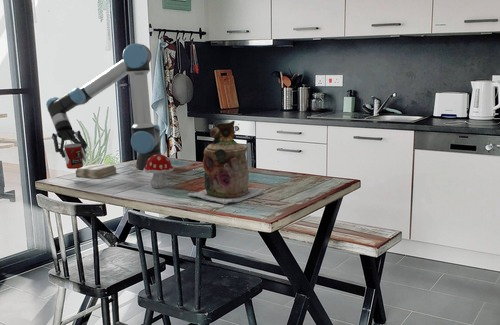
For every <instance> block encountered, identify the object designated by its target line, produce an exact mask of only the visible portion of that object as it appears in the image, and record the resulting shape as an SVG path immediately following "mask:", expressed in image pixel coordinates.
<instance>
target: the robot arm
mask: <svg viewBox="0 0 500 325" xmlns="http://www.w3.org/2000/svg"><path fill="white" fill-rule="evenodd" d="M152 57H153V56H152V52H151V50H150V48H149V47H148V46H147V45H144V44H142V43H131V44H128V45H127V46H126V47H125V48H124V49H123V52H122V59H121V60H120V61H118V62H116V64H114V65H112V66H111V67H110V68H107V69H106V70H105V71H103V72H102V73H101V74H99V75H98V76H96V77H95V78H93V79H91V81H89V82H87V83H86V84H84V85H83V86H81V87H80V88H79V87H75V88H73V89H71V90H70V91H69V92H67V93H66V94H63V96H61V97H60V98H59V97H56V96H54V97H51V98H49V99H48V100H47V101H46V104H45V105H46V108H47V112H48V113H49V116H50V119H51V121H52V124H53V126H54V129H55V132H56V133H52V134H51V138H52V140H53V144H54V145H53V146H54V150H55V153H59V154H60V156H61V157H62V158H64V161H65V164H66V163H67V164H68V163H69V158H68V156H67V153H66V151H65V149H64V148H65V141H71V142H73V144H81V148H82V159H83V162H86V160H87V156H86V154H87V152H86V150H87V147H88V143H87V142H86V140H85V139H84V137H83V136H82V133H81V131H80V130H77V131H75V130H74V129H73V127H72V124H71V122H70V119H69V117H68V115H67V113H68V112H70V111H71V110H72V109H74V108H76V107H77V106H82V105H85V104H87V103H89V101H90V100H92V99H93V98H95V97H96V96H98V95H99V94H100V93H102V92H104V91H105V90H106V89H108V88H110V87H111V86H112V85H113V84H116V83H117V82H119V81H120V80H122V79H123V78H125V77H126V76H127V75H129V84H130V95H131V104H132V105H131V106H132V116H133V124H132V126H131V128H130V129H131V138H130V145H131V148H132V149H133V150H134V151H135V152H136V153H138V155H137V160H136V162H135V167H136V168H135V169H137V170H141V171H142V170H143V171H144V168H145V166H146V163H147V160H148V159H149V158H150V157H151V156H154V155H156V154H161V155H162V153H161V152H162V151H161V150H162V148H161V129H160V128H161V127H160V125H159V124H154V123H152V117H151V115H152V114H151V107H150V106H151V104H150V92H149V82H148V73H149V72H150V71H151V69H150V68H151V67H150V63H151V61H152ZM58 138H59V139H61V140H60V145H59V142H58Z"/></svg>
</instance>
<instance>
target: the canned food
mask: <svg viewBox="0 0 500 325" xmlns="http://www.w3.org/2000/svg"><path fill="white" fill-rule="evenodd" d="M64 150H65V151H66V153H67V156H68V158H69V163H68V164H67V163H66V162H65V165H66V168H67V169H69V170H73V169H74V170H77V168H81V167H84V160H83V158H82V148H81V144H75V143H67V144H64Z"/></svg>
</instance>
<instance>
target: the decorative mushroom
mask: <svg viewBox="0 0 500 325" xmlns="http://www.w3.org/2000/svg"><path fill="white" fill-rule="evenodd" d="M174 170H175V167H174V166H173V165H172V162H171V160H170V159H169V158H168V157H167V156H166V155H164V154H162V153H161V154H156V155H154V156H151V157H150V158H149V159H148V160H147V163H146V166H145V168H144V170H143V171H144V173H147V174H152V177H151V179H150V186H151V187H152V188H153V189H164V188H167V187H168V185H169V180H168V178H167V176H166V173H172V172H173V171H174Z"/></svg>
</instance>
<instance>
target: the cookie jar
mask: <svg viewBox="0 0 500 325" xmlns="http://www.w3.org/2000/svg"><path fill="white" fill-rule="evenodd" d="M235 133H236V130H235V120H231V121H229V122H219V123H217V124H216V125H215V127H213V128H211V129H210V130H209V135H210V137H211V138H213V140H212V143H210V144H208V145H207V146H206V147H205V148H204V150H203V158H202V164H203V166H202V168H203V170H204V173H203V177H204V182H203V183H204V189H202V190H200V191H197V192H194V193H193V192H191V193H190V192H189V193H187V196H188V197H195V198H196V197H197V198H201V200H207V201H210V202H211V201H212V202H215V203H220V204H223V205H227V204H228V203H239V202H242V201H245V200H248V199H250V198H253V197H256V196H259V195H264V193H265V191H266V188H255V187H249V180H250V174H249V168H248V166H249V165H248V160H247V153H246V152H247V151H248V146H247V145H245V144H241V143H238V142H237V141H236V140H234V137H235V135H236V134H235Z"/></svg>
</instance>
